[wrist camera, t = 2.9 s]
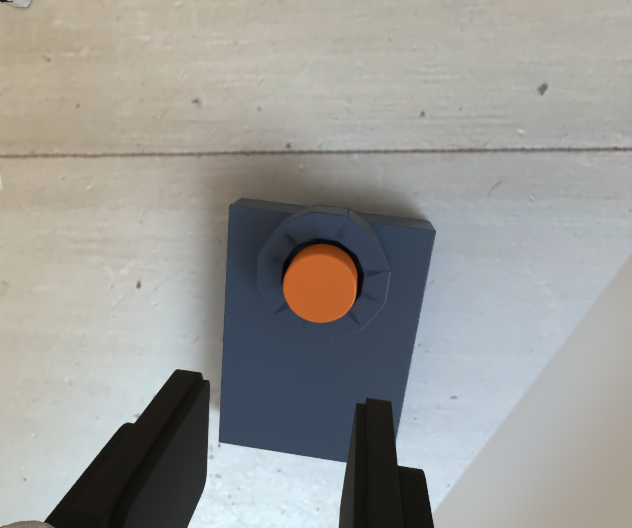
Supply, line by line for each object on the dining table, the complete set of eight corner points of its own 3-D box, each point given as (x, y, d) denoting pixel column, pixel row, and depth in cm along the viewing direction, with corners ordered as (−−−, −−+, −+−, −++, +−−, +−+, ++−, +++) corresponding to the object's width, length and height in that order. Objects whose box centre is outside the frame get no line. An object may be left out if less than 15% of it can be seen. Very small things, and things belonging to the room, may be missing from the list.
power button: (292, 238, 21) (285, 249, 19) (361, 247, 20) (361, 258, 19) (286, 303, 22) (279, 318, 20) (352, 312, 21) (351, 328, 20)
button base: (241, 187, 24) (218, 199, 20) (431, 210, 23) (444, 227, 19) (229, 419, 28) (208, 464, 25) (388, 444, 28) (392, 494, 24)
